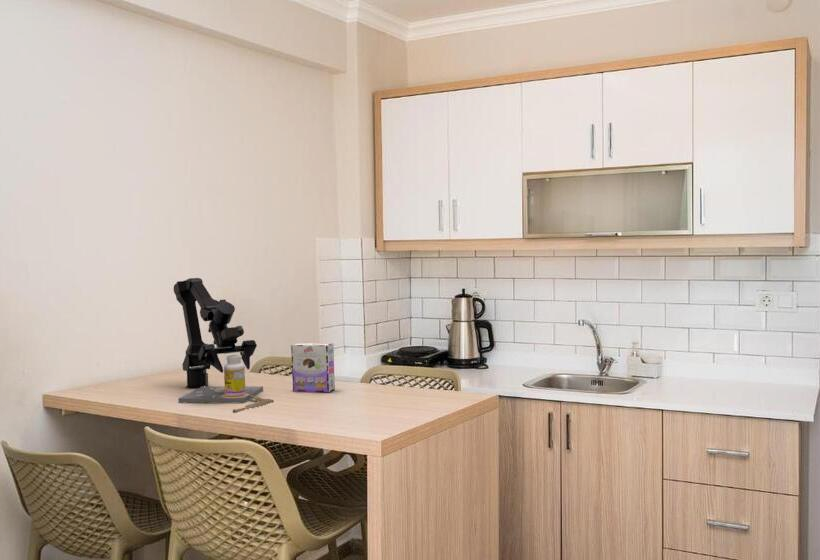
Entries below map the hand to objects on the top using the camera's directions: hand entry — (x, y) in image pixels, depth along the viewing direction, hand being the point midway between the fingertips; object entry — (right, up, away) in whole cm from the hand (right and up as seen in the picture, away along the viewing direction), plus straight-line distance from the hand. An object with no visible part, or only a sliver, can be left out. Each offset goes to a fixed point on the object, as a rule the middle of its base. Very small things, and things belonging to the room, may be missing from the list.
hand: (235, 370), depth 265 cm
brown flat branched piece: (+5, -11, -7) cm, 14 cm away
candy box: (+24, -9, +15) cm, 30 cm away
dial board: (-6, -10, +8) cm, 14 cm away
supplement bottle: (-1, -8, +2) cm, 9 cm away
